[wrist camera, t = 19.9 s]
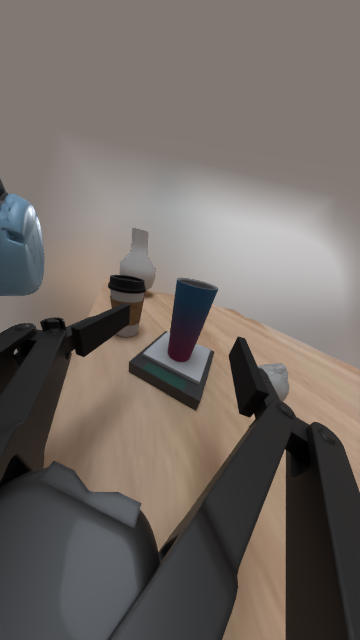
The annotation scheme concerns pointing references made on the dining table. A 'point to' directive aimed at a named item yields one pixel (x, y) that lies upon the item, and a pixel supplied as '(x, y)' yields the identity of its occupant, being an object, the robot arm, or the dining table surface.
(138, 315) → the coffee cup
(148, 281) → the vase
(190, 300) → the cup
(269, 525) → the dining table surface
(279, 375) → the figurine
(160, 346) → the scale
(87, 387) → the dining table surface
